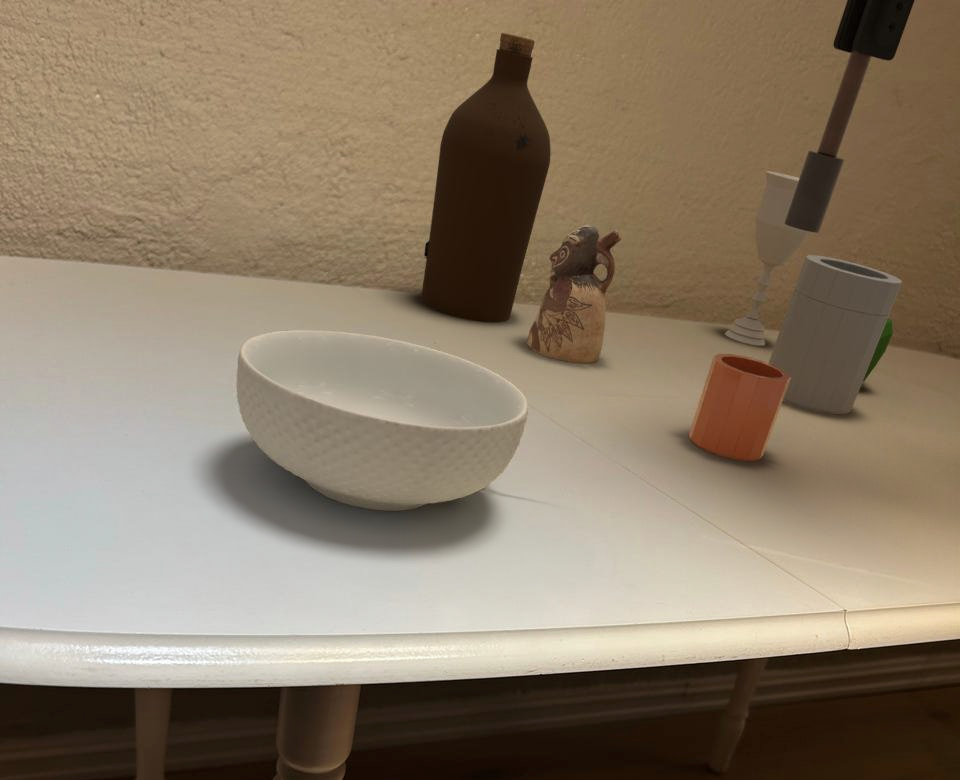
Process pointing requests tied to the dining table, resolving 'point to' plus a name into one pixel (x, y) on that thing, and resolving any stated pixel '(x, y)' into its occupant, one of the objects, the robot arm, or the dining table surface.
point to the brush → (827, 153)
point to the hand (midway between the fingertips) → (862, 52)
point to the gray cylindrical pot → (832, 331)
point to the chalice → (769, 249)
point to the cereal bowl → (377, 417)
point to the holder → (738, 407)
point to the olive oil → (487, 193)
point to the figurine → (575, 298)
